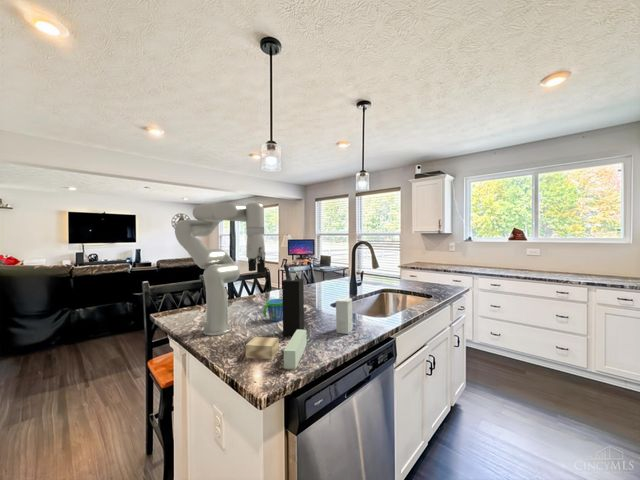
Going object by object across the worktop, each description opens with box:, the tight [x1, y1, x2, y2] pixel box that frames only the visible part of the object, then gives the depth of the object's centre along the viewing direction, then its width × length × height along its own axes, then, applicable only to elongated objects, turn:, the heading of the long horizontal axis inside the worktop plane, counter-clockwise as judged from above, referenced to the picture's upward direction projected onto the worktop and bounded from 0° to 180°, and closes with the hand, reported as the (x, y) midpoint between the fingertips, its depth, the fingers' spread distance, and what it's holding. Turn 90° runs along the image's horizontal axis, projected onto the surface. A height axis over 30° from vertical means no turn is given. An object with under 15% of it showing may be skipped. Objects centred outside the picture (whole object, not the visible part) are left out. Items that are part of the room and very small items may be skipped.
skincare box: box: [335, 297, 354, 335], centre depth 125 cm, size 8×6×15 cm
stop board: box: [283, 329, 307, 370], centre depth 100 cm, size 4×21×6 cm, turn 173°
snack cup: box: [262, 298, 283, 322], centre depth 144 cm, size 16×10×10 cm
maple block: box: [245, 336, 280, 360], centre depth 101 cm, size 10×8×5 cm
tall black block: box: [281, 272, 305, 338], centre depth 122 cm, size 8×8×28 cm
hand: (256, 271), depth 115 cm, fingers open, 9 cm apart
